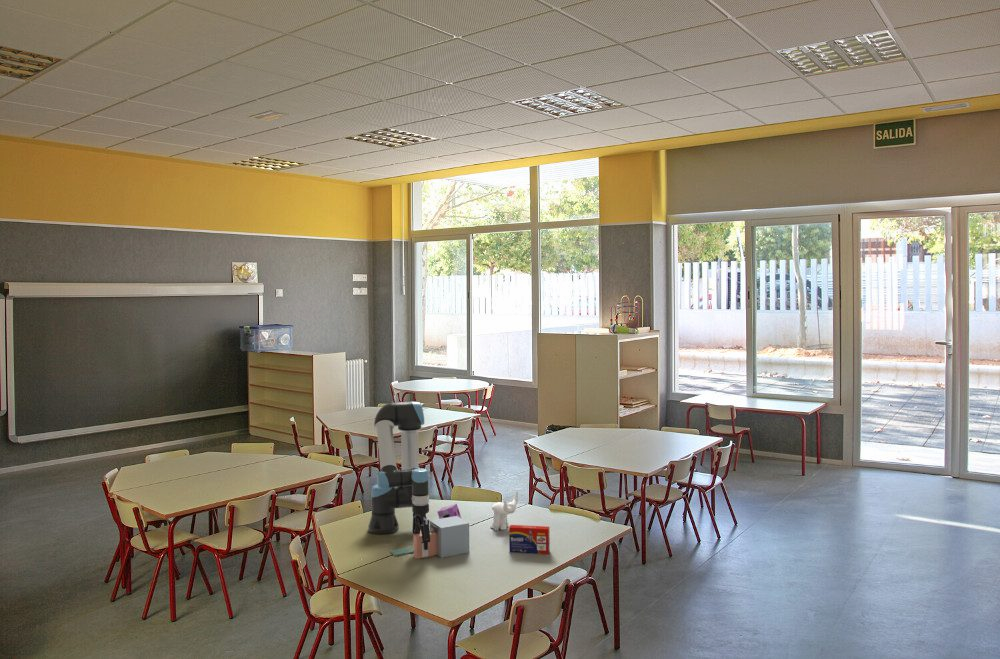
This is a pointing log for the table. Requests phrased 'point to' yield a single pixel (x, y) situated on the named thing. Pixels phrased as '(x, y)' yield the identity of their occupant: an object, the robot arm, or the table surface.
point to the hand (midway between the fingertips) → (421, 553)
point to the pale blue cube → (451, 535)
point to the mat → (403, 551)
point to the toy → (449, 511)
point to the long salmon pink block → (431, 545)
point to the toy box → (529, 539)
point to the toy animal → (503, 513)
